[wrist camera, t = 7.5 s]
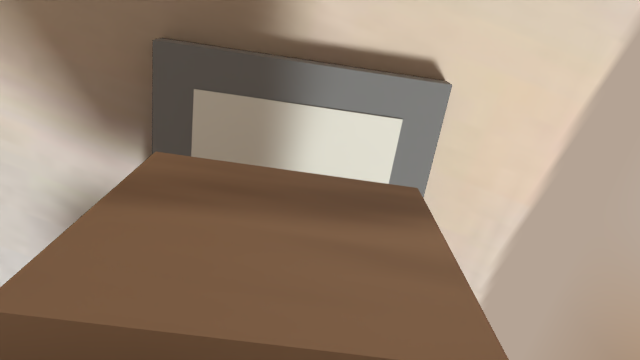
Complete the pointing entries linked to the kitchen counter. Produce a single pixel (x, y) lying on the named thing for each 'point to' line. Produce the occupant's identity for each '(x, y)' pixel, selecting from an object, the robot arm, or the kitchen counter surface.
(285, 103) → the pad
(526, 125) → the kitchen counter surface
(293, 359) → the walnut block
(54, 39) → the kitchen counter surface
